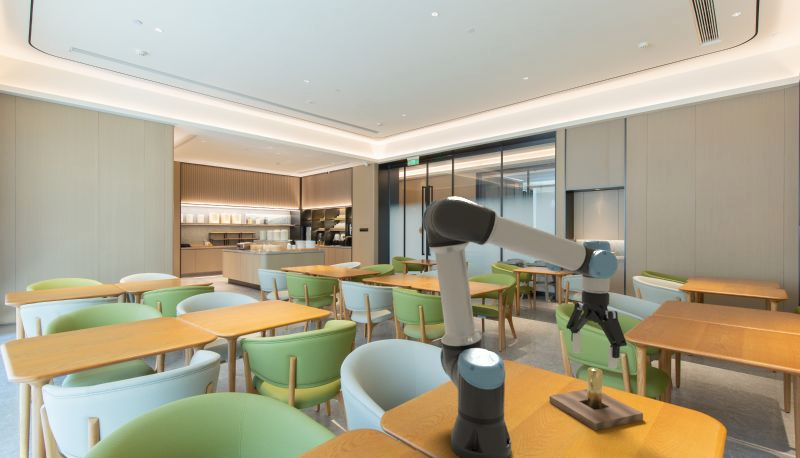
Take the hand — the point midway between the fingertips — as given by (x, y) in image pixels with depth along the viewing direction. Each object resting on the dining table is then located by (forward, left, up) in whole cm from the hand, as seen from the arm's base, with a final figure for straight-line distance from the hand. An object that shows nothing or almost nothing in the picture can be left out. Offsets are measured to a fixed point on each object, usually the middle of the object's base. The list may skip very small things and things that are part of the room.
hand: (593, 360), depth 116 cm
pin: (0, 0, -15) cm, 15 cm away
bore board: (0, 0, -15) cm, 15 cm away
